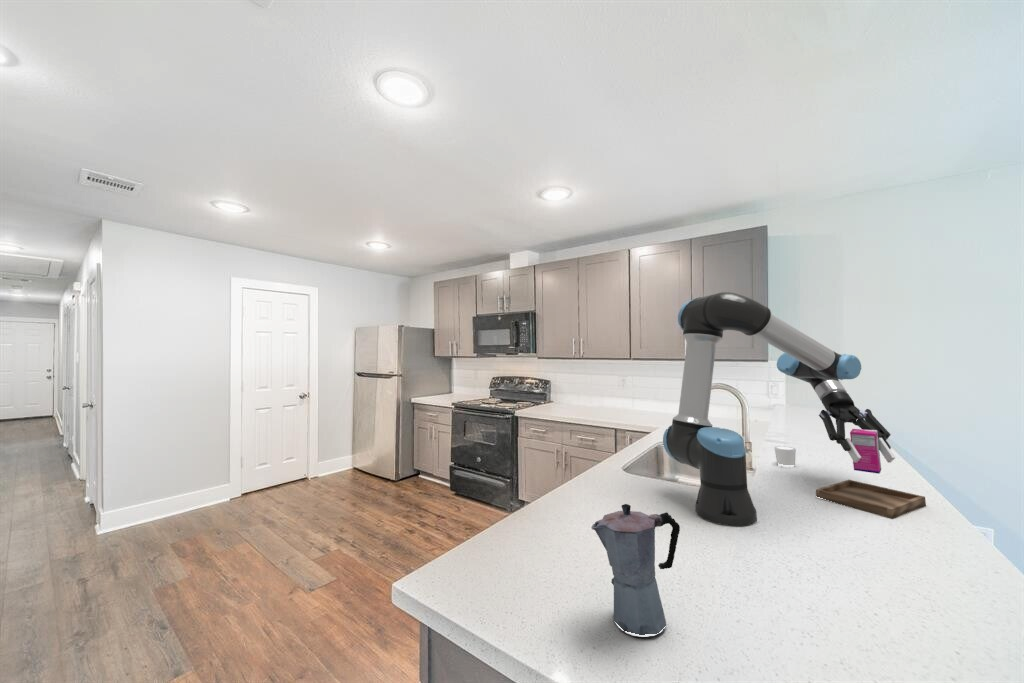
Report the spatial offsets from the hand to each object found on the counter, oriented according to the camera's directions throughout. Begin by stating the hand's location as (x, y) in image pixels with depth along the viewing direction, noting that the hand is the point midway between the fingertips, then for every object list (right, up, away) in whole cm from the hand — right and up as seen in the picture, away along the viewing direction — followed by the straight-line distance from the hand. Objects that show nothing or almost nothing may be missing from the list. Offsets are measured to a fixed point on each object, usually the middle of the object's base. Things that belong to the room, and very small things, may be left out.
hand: (874, 460), depth 111 cm
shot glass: (+3, -15, +40) cm, 43 cm away
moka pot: (-81, -15, -44) cm, 94 cm away
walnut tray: (+1, -13, +3) cm, 13 cm away
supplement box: (+1, -4, +3) cm, 5 cm away
